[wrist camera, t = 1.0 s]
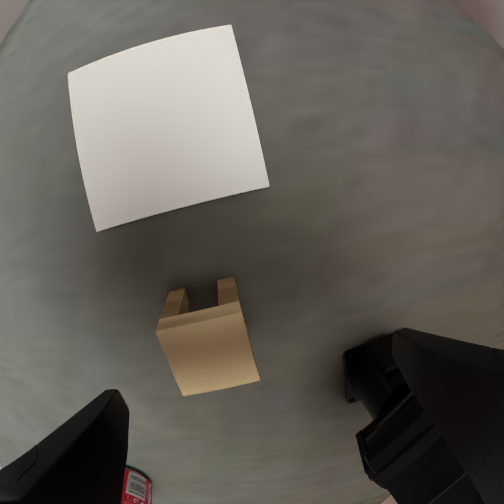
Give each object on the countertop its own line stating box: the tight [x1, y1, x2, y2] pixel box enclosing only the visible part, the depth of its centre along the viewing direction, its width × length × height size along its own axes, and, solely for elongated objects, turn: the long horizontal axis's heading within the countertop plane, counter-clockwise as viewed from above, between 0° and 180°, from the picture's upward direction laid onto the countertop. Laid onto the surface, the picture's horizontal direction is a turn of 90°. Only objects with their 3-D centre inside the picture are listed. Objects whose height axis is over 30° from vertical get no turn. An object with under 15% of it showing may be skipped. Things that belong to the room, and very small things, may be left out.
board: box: [68, 25, 270, 232], centre depth 18 cm, size 12×12×1 cm
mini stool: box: [155, 276, 260, 396], centre depth 19 cm, size 5×5×6 cm
